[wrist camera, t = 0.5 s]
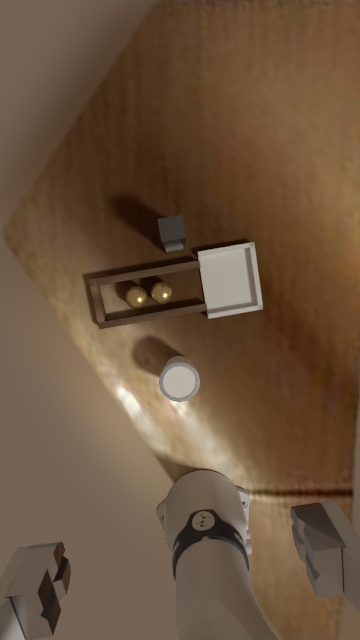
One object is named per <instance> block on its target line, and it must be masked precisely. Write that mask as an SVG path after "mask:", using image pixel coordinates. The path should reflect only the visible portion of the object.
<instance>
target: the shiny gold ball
mask: <svg viewBox="0 0 360 640" xmlns="http://www.w3.org/2000/svg"><path fill="white" fill-rule="evenodd" d="M172 297H173V289H172V287H171V286H170V285H169V284H168V283H166V282H157V283H156V284H154V285H153V286H152V288H151V298H152V299H153V301H154V302H156V303H158V304H166V303H168V302H169V301H170V300H171V299H172Z"/></svg>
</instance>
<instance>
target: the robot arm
mask: <svg viewBox="0 0 360 640" xmlns="http://www.w3.org/2000/svg"><path fill="white" fill-rule="evenodd" d="M249 501H250V498H249V493H248V492H247V491H246V490H244V489H242V488H239V487H237V486H235V485H234V484H233V483H232V482H231V481H230V480H229V479H227V478H226V477H225V476H223V475H221V474H219V473H217V472H214V471H208V470H199V471H194V472H190V473H188V474H186V475H184V476H182V477H181V478H180V479H178V480H177V481H176V482H175V483H174V485H173V486H172V488H171V489H170V491H169V494H168V496H167V497H166V499H164V500H163V501H162V502H161V503H160V504H159V505H158V506H157V515H158V518H159V520H160V522H161V525H162V527H163V529H164V532H165V543H167V544H168V547H169V549H170V551H171V553H172V567H173V574H174V579H175V581H176V628H177V633H178V636H179V639H180V640H278V639H277V638H276V636H275V635H274V634H273V632H272V631H271V629H270V628H269V626H268V625H267V623H266V622H265V620H264V618H263V615H262V613H261V611H260V608H259V605H258V602H257V599H256V596H255V593H254V590H253V587H252V584H251V580H250V577H249V573H248V572H249V563H248V555H247V554H251V553H252V548H251V542H250V540H249V539H250V532H249V530H248V518H249ZM242 502H244V503H242ZM290 513H291V518H292V520H293V522H294V524H293V525H292V533H293V538H294V542H295V546H296V548H297V551H298V554H299V556H300V559H301V560H302V561H303V562H304V563H305V564H306V570H307V576H308V578H309V581H310V583H311V585H312V588H313V590H314V592H315V595H316V597H317V598H319V597H328V596H337V595H345V597H346V598H347V599H348V600H349V601H350V602H351V603H352V604H353V605H354V606H355V607H356V608H357V609H358V610H359V611H360V537H359V536H358V534H357V533H356V531H355V530H354V528H353V527H352V525H351V524H350V522H349V521H348V519H347V518H346V516H345V515H344V513H343V512H342V510H341V509H340V507H339V506H338V504H337V503H336V502H335V501H334V500H332V501H325V502H319V503H312V504H306V505H300V506H293V507H291V509H290ZM163 515H164V516H163ZM64 552H65V548H64V545H63V543H62V542H57V543H48V544H40V545H33V546H25V547H19V548H18V549H17V550H16V551H15V552H14V553H13V555H12V557H11V559H10V561H9V563H8V565H7V566H6V568H5V570H4V572H3V574H2V576H1V577H0V640H33V639H38V638H44V637H50V636H53V634H54V631H55V628H56V625H57V621H58V619H59V616H60V612H61V608H60V604H59V602H60V601H61V600H62V599H63V598H64V596H65V595H66V594H67V590H68V587H69V582H70V575H71V571H70V564H69V560H68V559H67V558H66V557H64V556H63V554H64Z"/></svg>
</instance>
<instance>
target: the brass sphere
mask: <svg viewBox="0 0 360 640" xmlns="http://www.w3.org/2000/svg"><path fill="white" fill-rule="evenodd" d="M125 299H126V302H127V304H128V305H129V306H130V307H132V308H135V309H139V308H142V307H144V306H145V305H146V303H147V301H148V294H147V292H146V290H145V289H144V288H142V287H140V286H133V287H131V288H130V289H128V291H127V292H126V295H125Z"/></svg>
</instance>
